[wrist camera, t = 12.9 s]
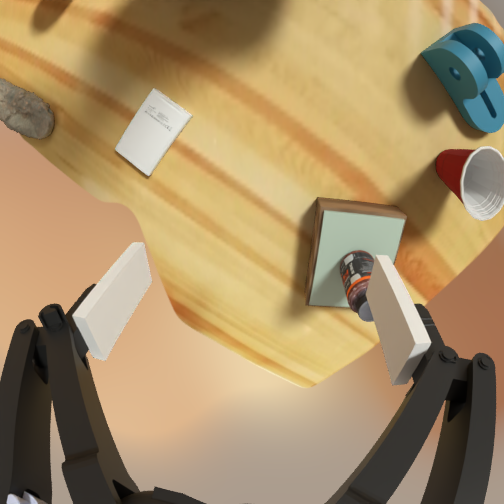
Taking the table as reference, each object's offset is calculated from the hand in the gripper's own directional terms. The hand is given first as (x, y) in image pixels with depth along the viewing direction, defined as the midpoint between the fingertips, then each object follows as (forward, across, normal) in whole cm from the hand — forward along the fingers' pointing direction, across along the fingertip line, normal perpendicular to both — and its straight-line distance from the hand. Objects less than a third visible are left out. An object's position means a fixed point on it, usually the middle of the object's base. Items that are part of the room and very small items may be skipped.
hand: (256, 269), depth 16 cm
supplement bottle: (+25, +14, -15) cm, 33 cm away
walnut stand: (+30, +14, -15) cm, 37 cm away
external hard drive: (+31, -20, +5) cm, 37 cm away
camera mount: (+31, +33, +18) cm, 49 cm away
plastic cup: (+31, +30, +2) cm, 43 cm away
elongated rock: (+31, -56, +18) cm, 67 cm away
